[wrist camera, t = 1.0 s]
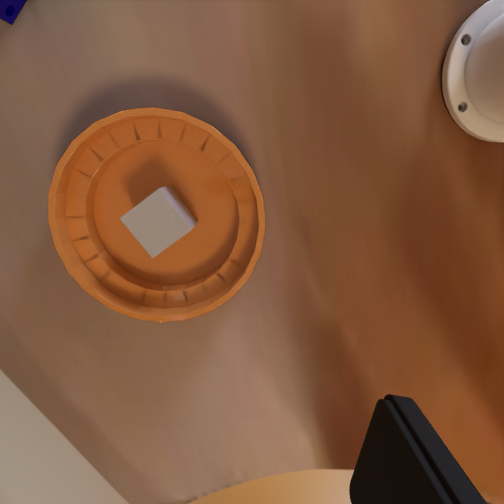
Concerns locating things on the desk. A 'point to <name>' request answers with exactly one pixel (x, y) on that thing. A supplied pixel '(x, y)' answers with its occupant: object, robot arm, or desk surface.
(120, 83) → the desk surface
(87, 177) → the bowl
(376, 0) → the desk surface
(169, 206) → the block
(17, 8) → the cable holder
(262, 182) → the desk surface
